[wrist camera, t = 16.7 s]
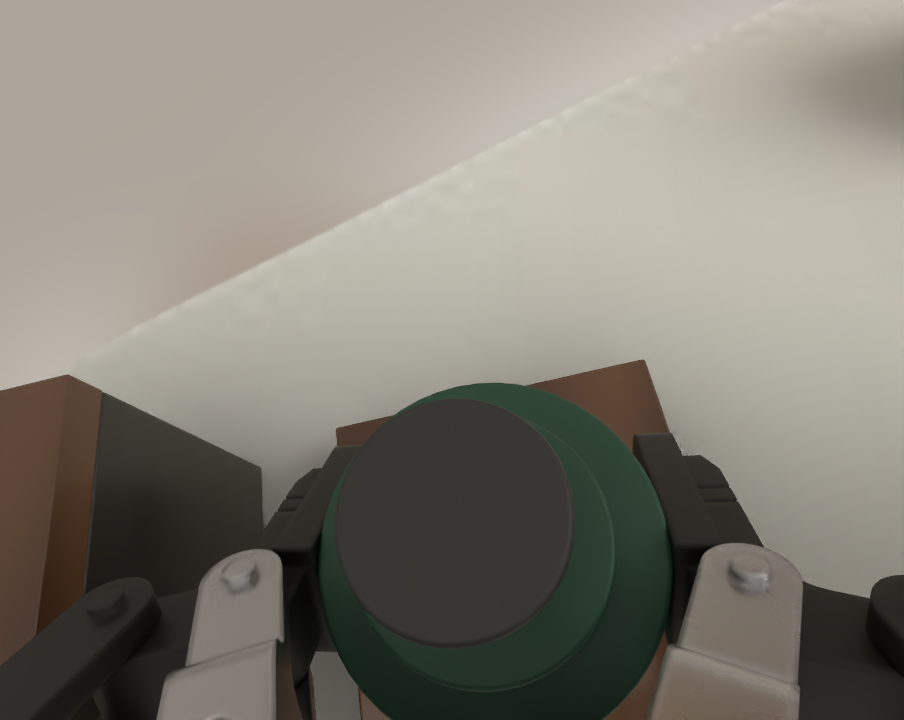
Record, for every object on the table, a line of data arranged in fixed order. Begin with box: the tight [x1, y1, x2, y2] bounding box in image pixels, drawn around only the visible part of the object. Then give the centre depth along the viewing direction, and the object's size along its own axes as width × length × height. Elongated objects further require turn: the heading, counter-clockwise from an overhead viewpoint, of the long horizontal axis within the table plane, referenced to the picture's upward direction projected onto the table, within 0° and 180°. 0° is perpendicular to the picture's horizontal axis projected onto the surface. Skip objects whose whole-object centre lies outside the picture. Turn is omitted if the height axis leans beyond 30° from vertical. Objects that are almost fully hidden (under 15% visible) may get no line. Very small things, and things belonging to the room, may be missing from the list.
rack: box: [0, 360, 670, 720], centre depth 16 cm, size 26×12×10 cm, turn 100°
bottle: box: [319, 383, 673, 720], centre depth 11 cm, size 6×6×12 cm
